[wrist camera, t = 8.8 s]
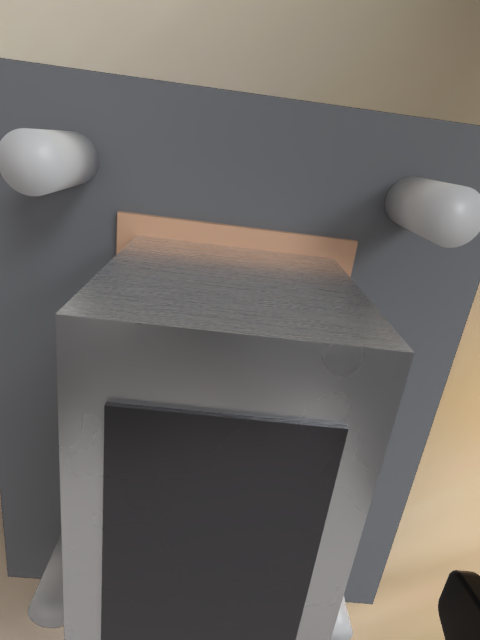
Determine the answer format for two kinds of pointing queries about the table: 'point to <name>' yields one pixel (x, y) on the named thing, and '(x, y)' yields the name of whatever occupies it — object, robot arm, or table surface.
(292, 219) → the tray
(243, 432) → the drive
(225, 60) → the table surface
